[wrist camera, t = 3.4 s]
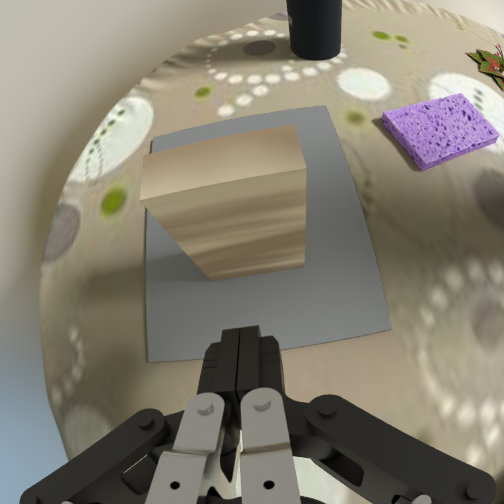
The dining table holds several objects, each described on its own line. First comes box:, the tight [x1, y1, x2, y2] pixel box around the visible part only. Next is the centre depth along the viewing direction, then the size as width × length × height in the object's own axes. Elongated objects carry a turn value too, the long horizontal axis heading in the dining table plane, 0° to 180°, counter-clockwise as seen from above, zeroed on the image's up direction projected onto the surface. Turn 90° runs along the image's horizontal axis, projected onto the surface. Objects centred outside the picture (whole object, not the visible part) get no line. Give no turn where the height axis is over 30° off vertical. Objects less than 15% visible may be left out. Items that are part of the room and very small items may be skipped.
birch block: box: [140, 125, 306, 281], centre depth 19 cm, size 3×7×12 cm, turn 97°
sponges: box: [382, 93, 499, 171], centre depth 26 cm, size 7×13×2 cm, turn 111°
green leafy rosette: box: [467, 44, 504, 91], centre depth 28 cm, size 12×12×5 cm
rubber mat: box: [146, 105, 392, 362], centre depth 26 cm, size 22×18×1 cm
